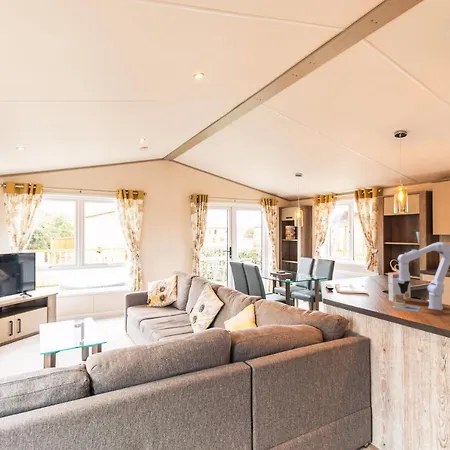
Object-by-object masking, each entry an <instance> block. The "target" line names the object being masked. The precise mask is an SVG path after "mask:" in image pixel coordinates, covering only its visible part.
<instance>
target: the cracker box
mask: <svg viewBox="0 0 450 450" xmlns="http://www.w3.org/2000/svg"><path fill="white" fill-rule="evenodd" d="M397 278H399V271H396V272H395V271H394V272H388V273H387V281H388V285H387V286H388V301H389V302H392V303H394V301H396V294H401V290H400V287H399V285H398V282H399V283H400V280H397ZM409 281H410V283H409V285H408V290H407V292H405V294H403V301H404V302H411V299H412V298H411V273H410V272H409Z"/></svg>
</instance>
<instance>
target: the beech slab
mask: <svg viewBox="0 0 450 450" xmlns="http://www.w3.org/2000/svg"><path fill="white" fill-rule="evenodd" d="M393 305H394V307H400V308H404V307H405V305H406V301H403V303H398V302H396V301H394V302H393Z"/></svg>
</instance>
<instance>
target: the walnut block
mask: <svg viewBox="0 0 450 450" xmlns="http://www.w3.org/2000/svg"><path fill="white" fill-rule="evenodd" d="M396 302H398V303H403V294H396Z"/></svg>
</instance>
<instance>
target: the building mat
mask: <svg viewBox="0 0 450 450" xmlns="http://www.w3.org/2000/svg"><path fill="white" fill-rule="evenodd" d="M421 308H422V307H421V306H416V305H415V306H414V305H408V304H405V307H404V308H400V307H394V304H393V305H392V306H391V307H390V309H394V310H400V311H401V310H402V311H409V312H416V313H417V312H419V311H420V309H421Z"/></svg>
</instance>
